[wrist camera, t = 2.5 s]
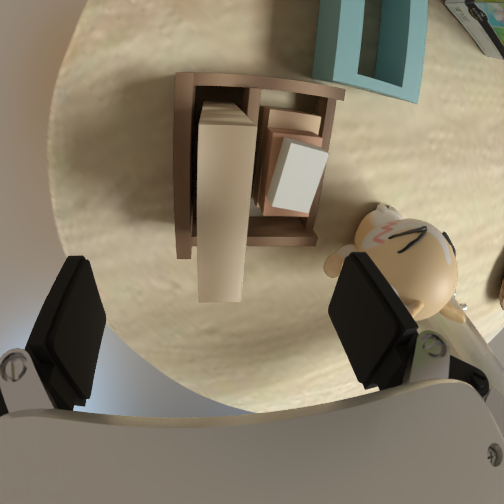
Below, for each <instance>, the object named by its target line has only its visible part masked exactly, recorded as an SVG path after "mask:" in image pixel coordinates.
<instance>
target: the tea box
mask: <svg viewBox="0 0 504 504" xmlns="http://www.w3.org/2000/svg"><path fill="white" fill-rule="evenodd" d="M445 5H446V6H447V7H448V8H449V10H450V11H451V12H452V13H453V14H454V16H455V17H456V18H457V19H458V20H459V22H460V23H461V24H462V25H463V27H464V28H465V29H466V30H467V32H468V33H469V34H470V35H471V37H472V38H473V39H474V41H475V42H476V43H477V45H478V46H479V48H480V49H481V50H482V52H483V53H484V54H485V56H487V57H493V58H497V59H502V60H504V0H446V1H445Z"/></svg>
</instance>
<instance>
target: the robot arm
mask: <svg viewBox="0 0 504 504" xmlns="http://www.w3.org/2000/svg"><path fill="white" fill-rule="evenodd" d="M453 296H454V298H455V296H456V288H455V291H454V293H453ZM455 300H456V299H455ZM456 302H457V300H456ZM457 303H458V302H457ZM458 305H459V306H460V308H461V309H462V311H463V313H464V311H465V310H466V309H467V305H466V304H465V303H463V304H459V303H458ZM328 313H329V316H330V319H331V321H332V323H333V325H334V327H335V330H336V332H337V334H338V336H339V338H340V341H341V343H342V345H343V347H344V350H345V352H346V354H347V356H348V359H349V361H350V363H351V366H352V368H353V370H354V373H355V375H356V377H357V380H358V381H359V382H360V383H362V384H363V386H364V388H365V390H366V389H370V388H374V387H377V386H378V387H379V390H380V391H377V392H373V393H369V394H365V395H361V396H357V397H353V398H348V399H344V400H339V401H335V402H330V403H325V404H319V405H314V406H308V407H302V408H296V409H289V410H282V411H275V412H267V413H258V414H248V415H236V416H221V417H198V418H197V417H196V418H157V417H156V418H155V417H132V416H120V415H106V414H95V413H86V412H78V411H73V408H74V405H77V406H85V403H86V399H89V398H90V396H91V390H92V385H93V379H94V374H95V369H96V363H97V359H98V354H99V349H100V345H101V340H102V336H103V332H104V328H105V324H106V314H105V311H104V308H103V305H102V302H101V299H100V296H99V292H98V289H97V286H96V282H95V279H94V275H93V272H92V268H91V265H90V262H89V260H86V259H85V257H84V256H68V257H67V259H66V261H65V263H64V265H63V266H62V268H61V270H60V272H59V274H58V276H57V278H56V280H55V282H54V284H53V286H52V288H51V290H50V292H49V294H48V296H47V298H46V300H45V302H44V304H43V306H42V308H41V311H40V313H39V315H38V317H37V320H36V322H35V324H34V327H33V329H32V332H31V334H30V337H29V339H28V342H27V344H26V347H25V350H23V349H19V348H16V349H11V350H9V351H7V352H6V353H5V354H3V356H2V357H1V358H0V504H504V369H503V367H502V365H501V364H500V363H499V361H498V359H497V358H496V356H495V355H494V353H493V352H492V351H491V349H490V348H489V346H488V345H487V343H486V342H485V340H484V339H483V337H482V336H481V335H480V333H479V332H478V330H477V329H476V328H475V326H474V325H473V323H472V322H471V321H470V319H469V318H468V317H467V315H466V314H465V313H464V315H465V318H466V321H465V323H463V324H461V323H458V322H455V321H452V320H450V319H447V318H446V317H444V316H443V315H441V314H440V312H438V313H436V314H435V315H433V316H431V317H429V318H426V319H423V320H419V321H415V320H414V319H413V317H412V316H411V314H410V313H409V311H408V310H407V308H406V307H405V305H404V304H403V302H402V301H401V299H400V298H399V297H398V295H397V294H396V292H395V291H394V289H393V288H392V287H391V285H390V284H389V282H388V281H387V280H386V278H385V277H384V276H383V274H382V273H381V271H380V270H379V269H378V267H377V266H376V265H375V263H374V262H373V261H372V259H371V258H370V257H369V255H368V254H367V253H366V252H351V253H350V254H349V256H346V257H345V260H344V263H343V266H342V269H341V272H340V275H339V278H338V281H337V284H336V287H335V290H334V293H333V296H332V299H331V302H330V304H329V308H328Z"/></svg>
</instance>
